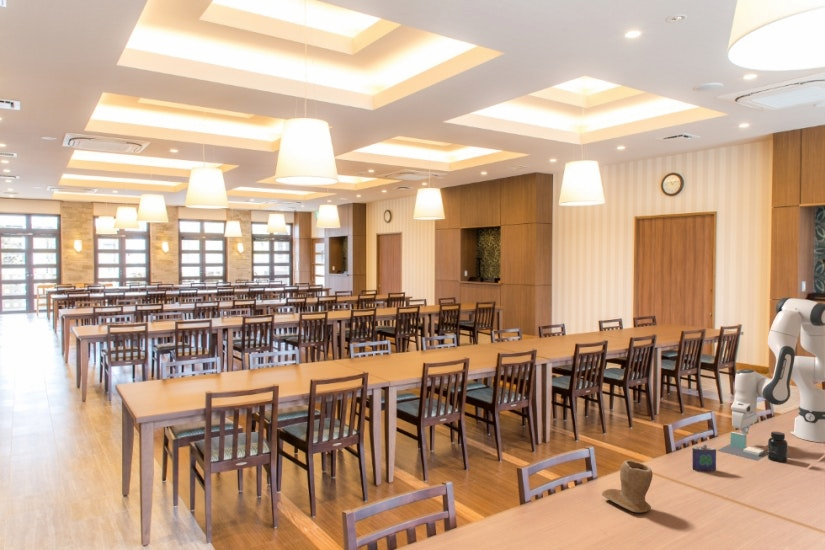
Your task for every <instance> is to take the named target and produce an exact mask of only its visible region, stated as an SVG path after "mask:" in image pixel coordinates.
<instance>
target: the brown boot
mask: <svg viewBox="0 0 825 550" xmlns="http://www.w3.org/2000/svg"><path fill="white" fill-rule="evenodd" d="M652 470H653V469H651V468H650V467H649V466H648V465H646V464H644V463H641V462H639V461H635V460H624V461H623V462H622V463H621V465H620V471H619V478H620V489H619V488H608V489H605V490H604V491H602V493H601V496H602V497H604V498H606V499H607V500H609V501H611V502H613V503H614V504H616V505H618V506H620V507H622V508H623V509H626V510H628V511H630V512H633V513H641V514H642V513H646V512H649V511H650V510H651V509H652V505H650V504H649V503H648V502H647V501H646V495H647V493H648V491H649V489H650V487H651V483H652V480H653V471H652Z"/></svg>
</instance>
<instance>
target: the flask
mask: <svg viewBox="0 0 825 550" xmlns="http://www.w3.org/2000/svg"><path fill="white" fill-rule="evenodd" d="M708 446H709V445H708V444H706V443H703V445H702V446H696V447H695V446H694V447H692V451H691V452H692V469H693V470H692V471H694V470H695V471H696V472H703V471H704V472H716V471H717V448H714V447H708ZM695 471H694V472H695Z"/></svg>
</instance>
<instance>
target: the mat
mask: <svg viewBox="0 0 825 550" xmlns="http://www.w3.org/2000/svg"><path fill="white" fill-rule="evenodd" d="M747 447H748V446H746V448H747ZM716 452H721V453H723V454H729V455H732V456H736V457H739V458H744V459H749V460H753V461H760V460H761V459H763V458H764V457H766V456H768V450H767V451H766V450H764V454H762V455H760V456H755V455H751V454H747V453H743V448H739V447H735V446H731V443H729V444H727V445H725V446H723V447H721V448H719V449H718V450H717V449H716Z"/></svg>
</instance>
